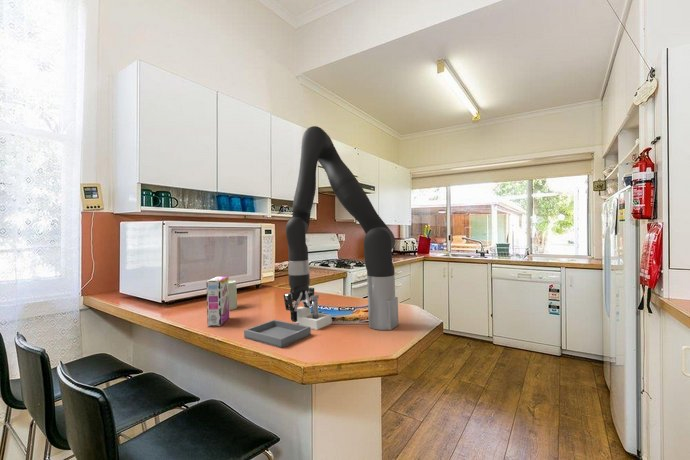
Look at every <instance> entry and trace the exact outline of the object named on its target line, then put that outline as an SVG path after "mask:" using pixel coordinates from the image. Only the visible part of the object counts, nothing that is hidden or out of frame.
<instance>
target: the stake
mask: <svg viewBox="0 0 690 460" xmlns="http://www.w3.org/2000/svg"><path fill="white" fill-rule="evenodd" d="M318 299H320V295H319V294H314V295H313V296H310V301H311V300H312V304H311V313H312V318H313V319H318V313H319V305H318Z"/></svg>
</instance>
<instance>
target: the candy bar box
mask: <svg viewBox="0 0 690 460" xmlns="http://www.w3.org/2000/svg"><path fill="white" fill-rule="evenodd" d="M228 280H229V276H224V275H222V276H215V277H213V278H210V279H208V280H206V309H207V311H206V313H207V315H206V317H207V322H206V323H207V328H210V327H211V328H212V327H213V328H214V327H221V326H222V325H223V324H224V323H225V322H226V321H228V319H229V318H230V310H229V282H228Z"/></svg>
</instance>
